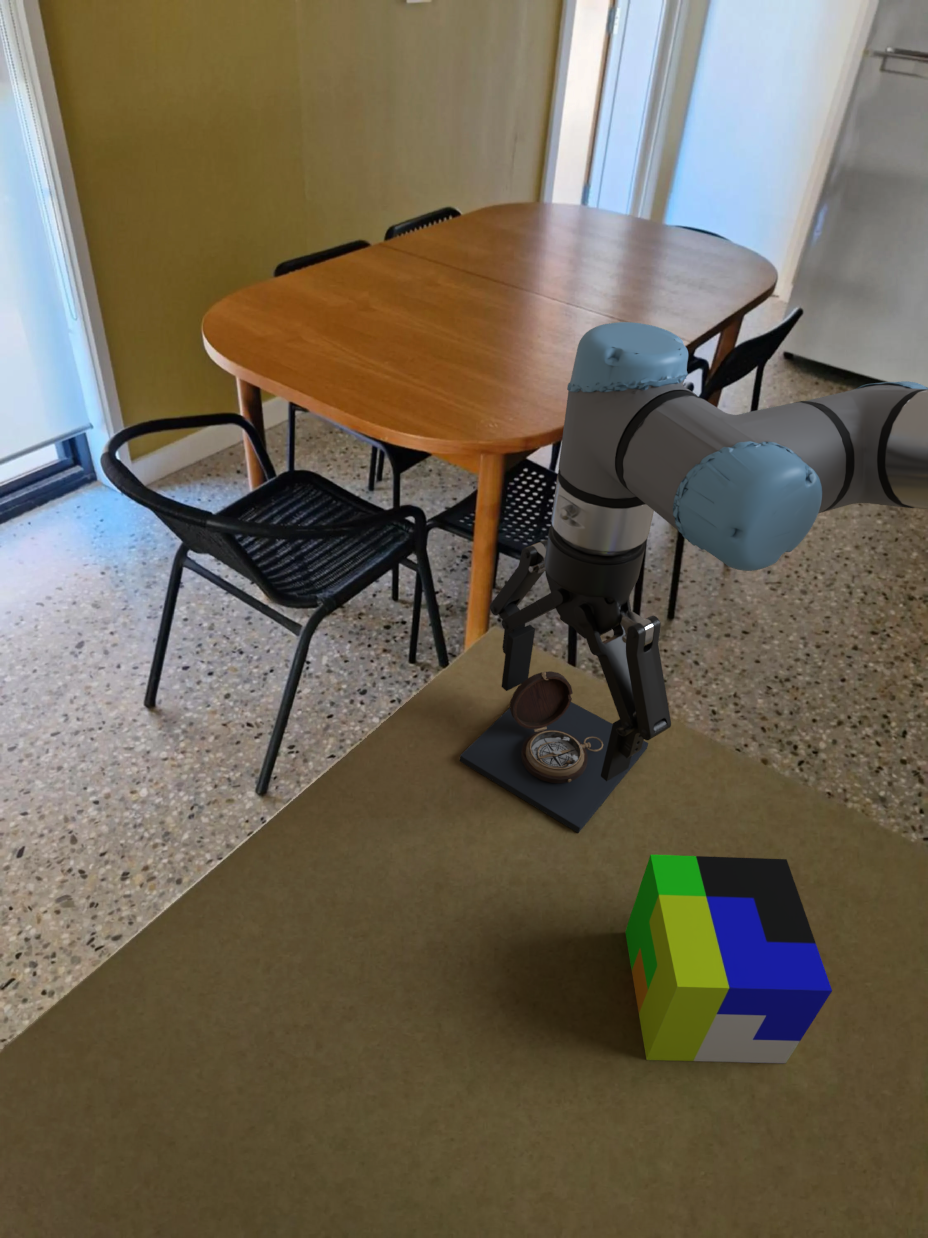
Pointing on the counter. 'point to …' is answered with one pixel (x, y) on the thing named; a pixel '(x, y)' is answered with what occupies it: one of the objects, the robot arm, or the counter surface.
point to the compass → (548, 749)
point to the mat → (561, 801)
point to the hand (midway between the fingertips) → (562, 726)
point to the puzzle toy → (723, 960)
